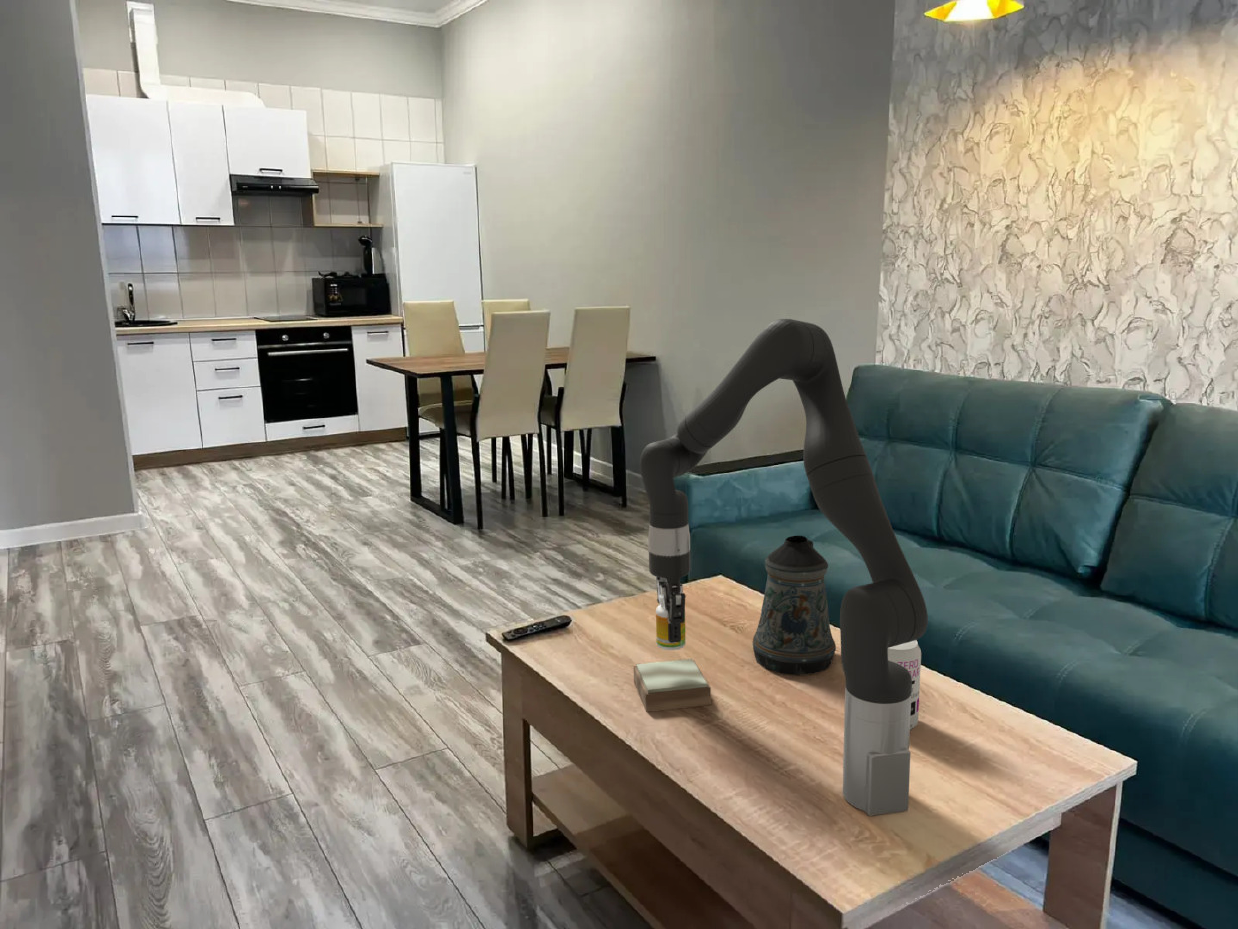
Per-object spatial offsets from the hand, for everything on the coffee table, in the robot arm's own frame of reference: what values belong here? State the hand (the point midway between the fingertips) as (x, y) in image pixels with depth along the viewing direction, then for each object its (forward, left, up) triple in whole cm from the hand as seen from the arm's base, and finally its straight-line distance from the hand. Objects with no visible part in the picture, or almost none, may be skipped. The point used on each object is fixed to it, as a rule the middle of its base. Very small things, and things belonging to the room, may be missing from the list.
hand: (670, 634), depth 163 cm
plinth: (0, 0, -12) cm, 12 cm away
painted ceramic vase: (+11, -28, -12) cm, 32 cm away
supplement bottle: (0, 0, -2) cm, 2 cm away
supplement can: (-19, -35, -12) cm, 41 cm away
